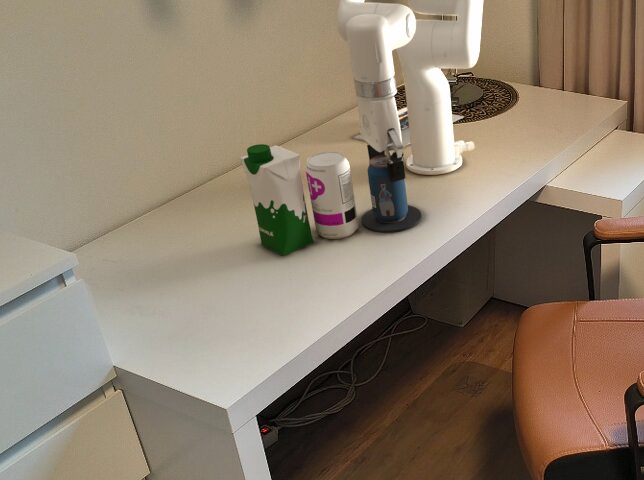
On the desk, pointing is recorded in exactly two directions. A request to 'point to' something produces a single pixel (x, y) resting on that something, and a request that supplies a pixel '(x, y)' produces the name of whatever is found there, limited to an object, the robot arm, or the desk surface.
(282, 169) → the soya milk
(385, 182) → the soda can
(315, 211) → the supplement can
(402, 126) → the white tray with gadget
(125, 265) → the desk surface
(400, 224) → the coaster
